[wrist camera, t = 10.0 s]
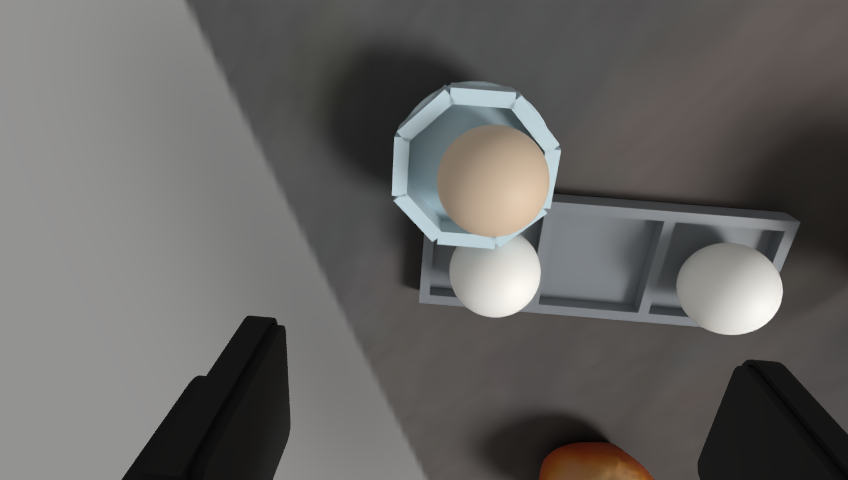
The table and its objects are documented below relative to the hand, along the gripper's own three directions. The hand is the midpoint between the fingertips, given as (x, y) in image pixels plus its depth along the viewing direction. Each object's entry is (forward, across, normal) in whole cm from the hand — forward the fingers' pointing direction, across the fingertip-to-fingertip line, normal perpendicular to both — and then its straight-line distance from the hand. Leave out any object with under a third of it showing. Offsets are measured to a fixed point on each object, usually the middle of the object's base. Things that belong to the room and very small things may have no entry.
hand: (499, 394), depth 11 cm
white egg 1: (+19, -2, +6) cm, 20 cm away
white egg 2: (+19, -14, +6) cm, 25 cm away
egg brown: (+16, 0, 0) cm, 16 cm away
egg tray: (+20, -8, +6) cm, 22 cm away
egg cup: (+20, 0, 0) cm, 20 cm away
